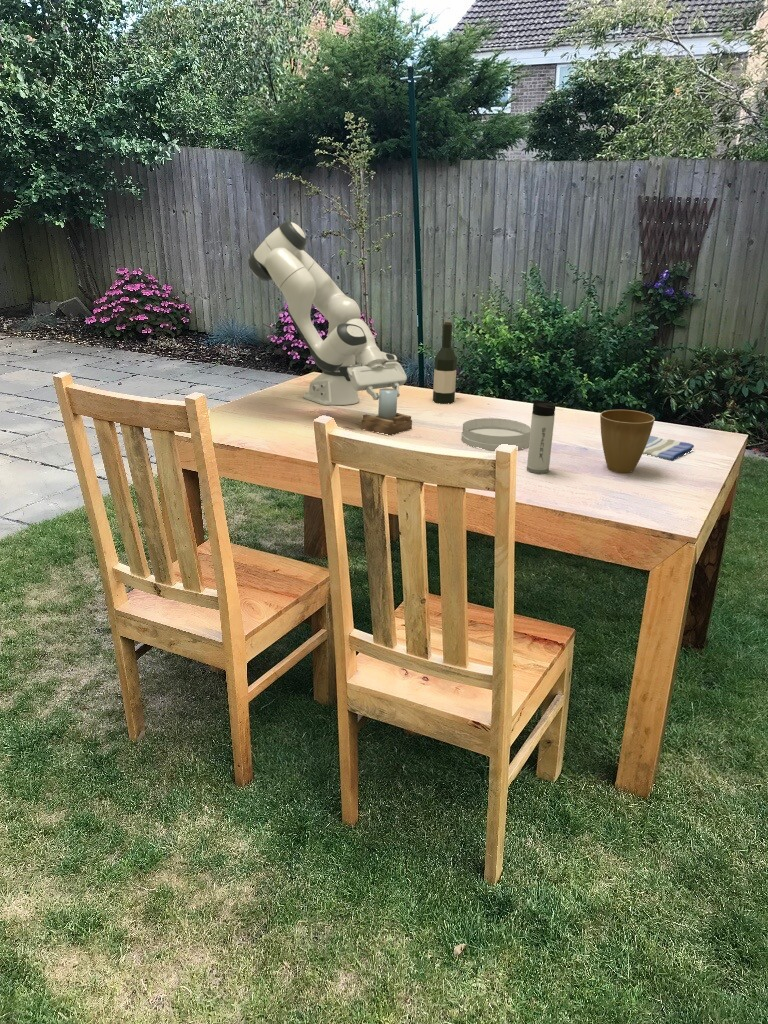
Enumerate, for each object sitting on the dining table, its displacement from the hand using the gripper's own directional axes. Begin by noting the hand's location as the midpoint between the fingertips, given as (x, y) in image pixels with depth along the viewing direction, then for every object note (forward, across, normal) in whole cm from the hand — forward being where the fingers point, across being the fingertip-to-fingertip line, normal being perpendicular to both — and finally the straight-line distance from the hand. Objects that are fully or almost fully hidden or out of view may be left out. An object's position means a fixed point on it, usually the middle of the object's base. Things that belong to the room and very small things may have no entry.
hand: (387, 397), depth 258 cm
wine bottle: (-7, +42, +23) cm, 48 cm away
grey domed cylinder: (+5, 0, +5) cm, 7 cm away
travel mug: (+49, +12, -33) cm, 60 cm away
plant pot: (+57, +34, -42) cm, 78 cm away
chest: (+8, 0, +7) cm, 11 cm away
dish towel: (+50, +60, -34) cm, 86 cm away
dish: (+29, +22, -13) cm, 38 cm away
